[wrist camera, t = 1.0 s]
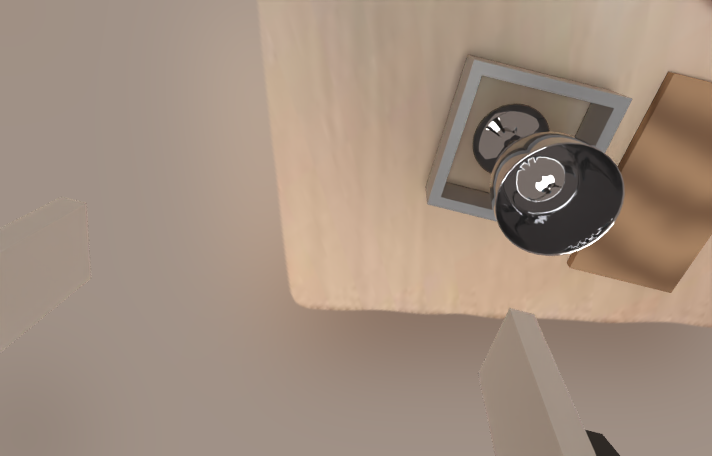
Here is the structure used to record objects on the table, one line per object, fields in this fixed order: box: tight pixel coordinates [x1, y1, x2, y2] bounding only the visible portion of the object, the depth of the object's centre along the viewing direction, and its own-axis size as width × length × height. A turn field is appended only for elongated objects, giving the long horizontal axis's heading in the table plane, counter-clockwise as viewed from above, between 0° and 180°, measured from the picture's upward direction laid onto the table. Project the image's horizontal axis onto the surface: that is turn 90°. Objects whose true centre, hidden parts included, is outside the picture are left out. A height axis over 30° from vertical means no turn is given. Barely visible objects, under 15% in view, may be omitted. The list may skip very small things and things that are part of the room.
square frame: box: [426, 55, 632, 221], centre depth 39 cm, size 13×13×4 cm
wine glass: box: [473, 104, 625, 256], centre depth 35 cm, size 8×8×15 cm
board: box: [567, 72, 712, 293], centre depth 41 cm, size 20×11×1 cm, turn 168°
